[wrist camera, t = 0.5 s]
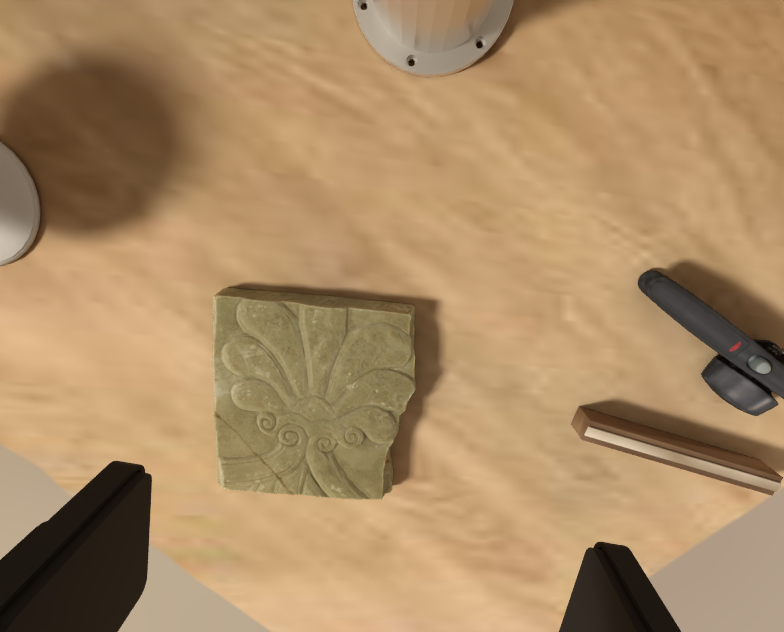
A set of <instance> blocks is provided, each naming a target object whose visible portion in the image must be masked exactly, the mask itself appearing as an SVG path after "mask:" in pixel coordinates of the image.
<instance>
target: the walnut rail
mask: <svg viewBox="0 0 784 632" xmlns="http://www.w3.org/2000/svg"><path fill="white" fill-rule="evenodd" d="M571 425H572V426H573V428H574V429H575V431H576V432H577V433H578V435H579V436H580V438H581V439H582V440H584V441H588V442H591V443H595V444H598V445H601V446H605V447H608V448H612V449H615V450H619V451H622V452H625V453H629V454H632V455H636V456H639V457H642V458H646V459H649V460H653V461H656V462H659V463H663V464H666V465H670V466H673V467H677V468H680V469H683V470H687V471H690V472H694V473H697V474H700V475H704V476H707V477H711V478H714V479H717V480H721V481H724V482H728V483H731V484H735V485H738V486H741V487H745V488H748V489H752V490H755V491H758V492H762V493H765V494H769V495H773V494H774V492H777V491H778V489H779V488H780V486H781V483H780V482H781V480H782V479H783V477H781V476H780V475H779V474H778V473H776V472H775V471H774V470H772V469H771V468H770V467H768V466H767V465H766V464H764V463H763V462H762V461H761V460H758V459H755V458H752V457H748V456H745V455H741V454H738V453H735V452H731V451H728V450H725V449H721V448H718V447H714V446H711V445H708V444H704V443H701V442H698V441H694V440H691V439H688V438H684V437H681V436H677V435H674V434H671V433H667V432H664V431H661V430H657V429H654V428H650V427H647V426H644V425H640V424H637V423H634V422H630V421H627V420H623V419H620V418H617V417H613V416H610V415H607V414H603V413H600V412H596V411H593V410H590V409H586V408H583V407H580V406H579V407H578V410H577V412H576V414H575V416H574V419H573V421H572V423H571Z"/></svg>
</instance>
